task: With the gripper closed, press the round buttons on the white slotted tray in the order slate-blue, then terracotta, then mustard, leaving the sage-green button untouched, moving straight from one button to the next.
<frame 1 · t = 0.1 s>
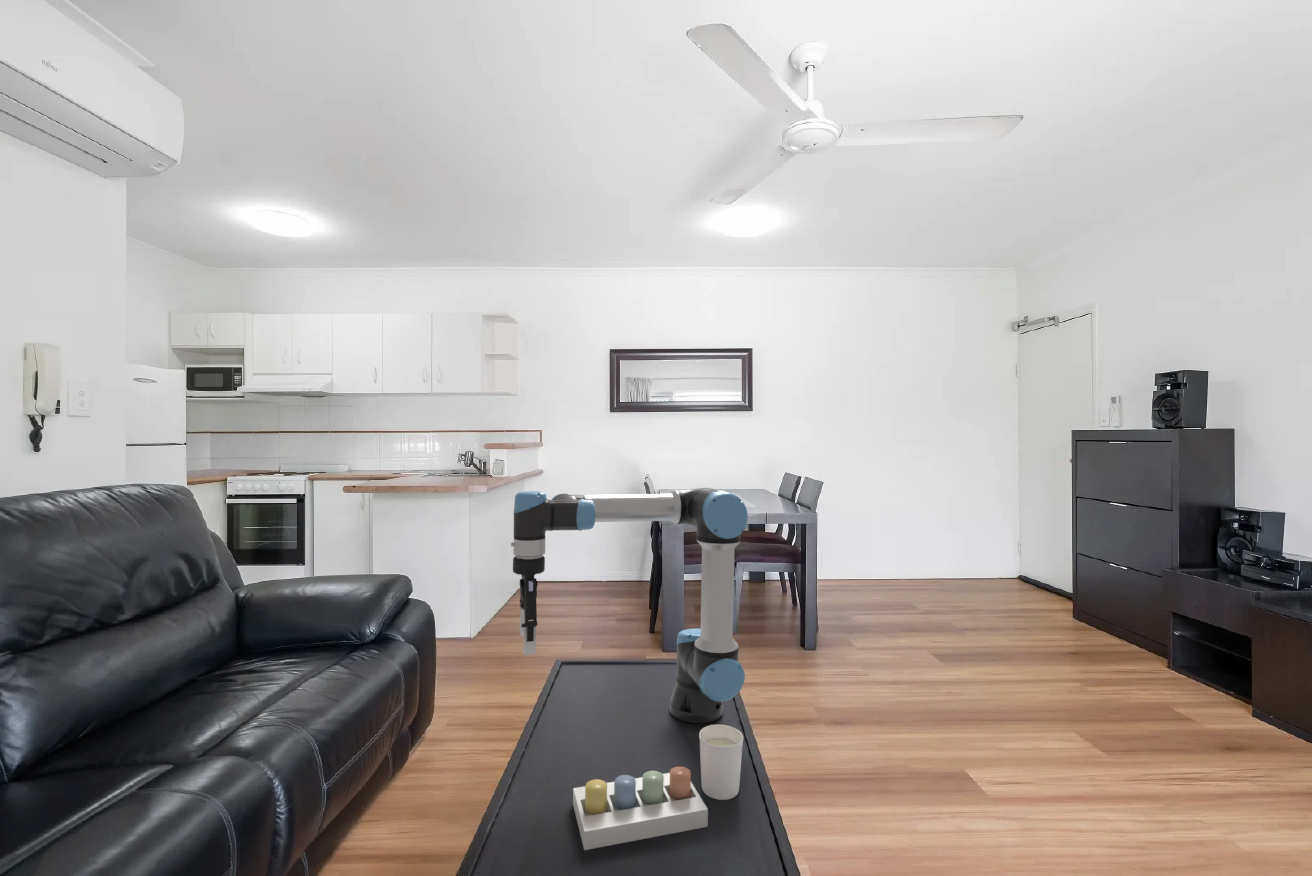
hand: (527, 644, 137), 28 cm above the table, fingers open, 13 cm apart
white slotted tray: (638, 815, 118), on the table
sage button: (652, 787, 119), point 5 cm above the table, slide at 0.0 cm
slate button: (624, 792, 117), point 5 cm above the table, slide at 0.0 cm
candle holder: (720, 789, 127), on the table
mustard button: (596, 796, 115), point 5 cm above the table, slide at 0.0 cm
terracotta button: (680, 783, 120), point 5 cm above the table, slide at 0.0 cm
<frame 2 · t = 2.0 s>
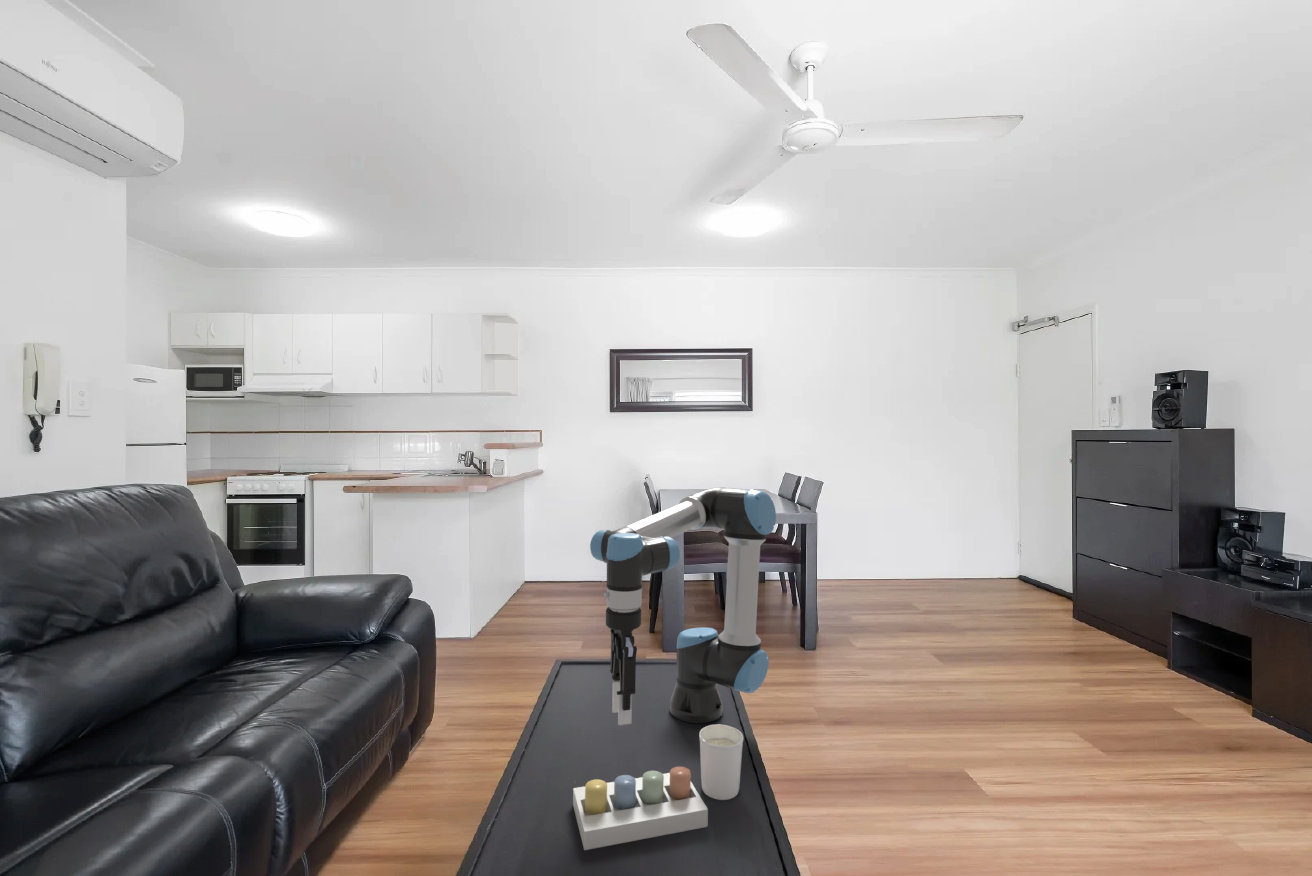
hand: (621, 717, 121), 19 cm above the table, fingers open, 5 cm apart
nothing on the table moved.
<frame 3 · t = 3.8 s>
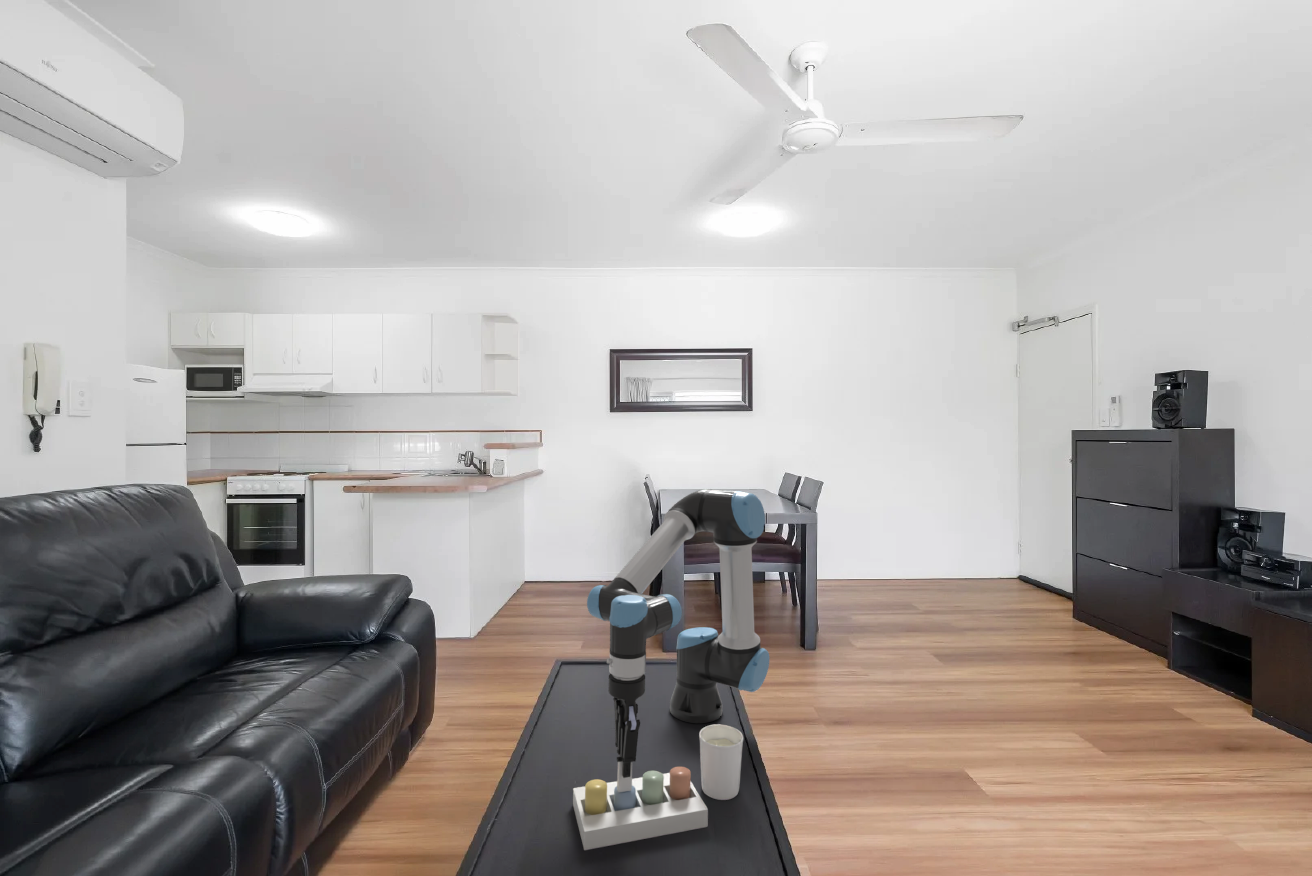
hand: (624, 789, 117), 6 cm above the table, fingers closed
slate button: (624, 800, 117), point 3 cm above the table, slide at 1.8 cm, touching gripper
everything else where it was.
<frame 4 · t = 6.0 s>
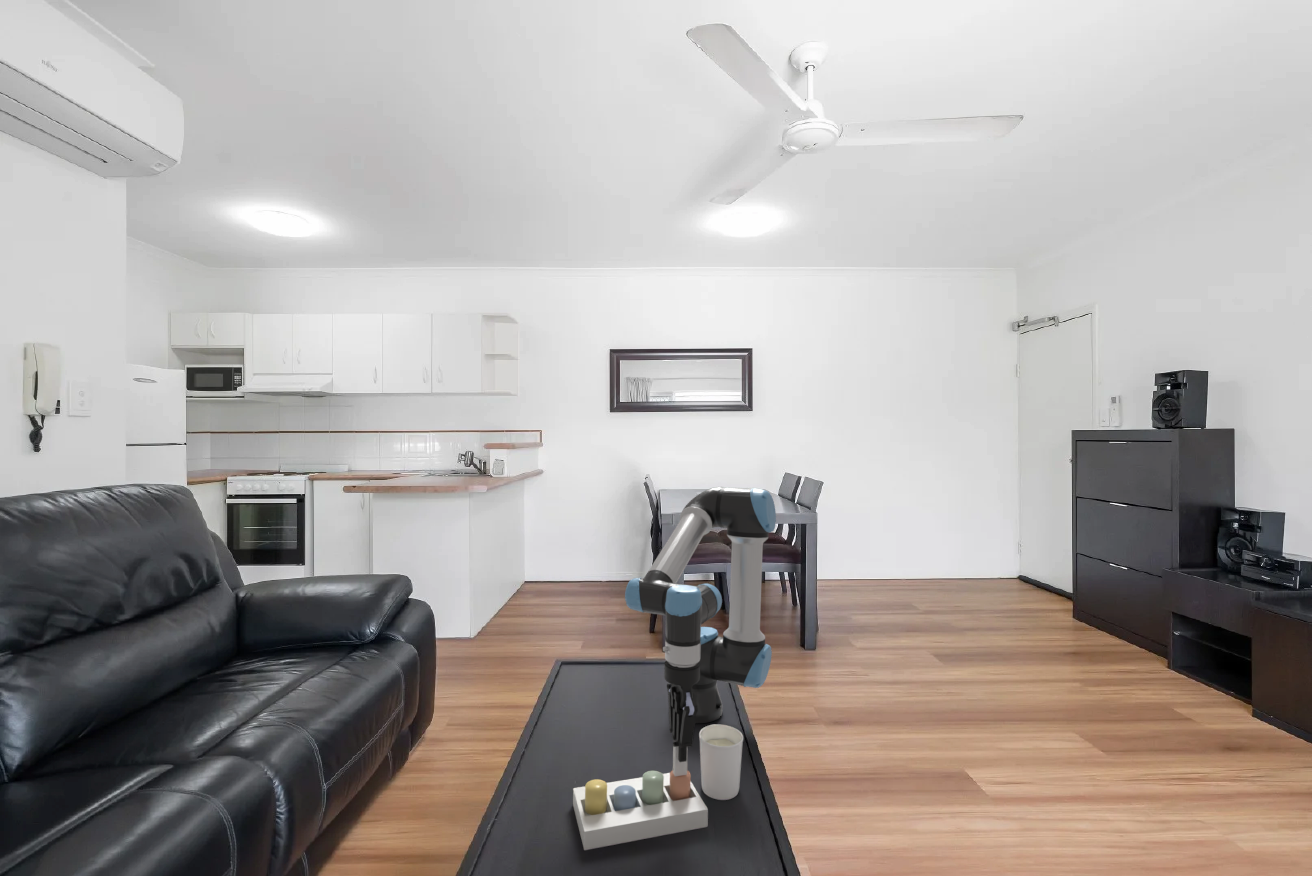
hand: (679, 773, 120), 7 cm above the table, fingers closed
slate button: (624, 802, 117), point 3 cm above the table, slide at 2.1 cm
terracotta button: (680, 784, 120), point 5 cm above the table, slide at 0.4 cm, touching gripper
everything else where it was.
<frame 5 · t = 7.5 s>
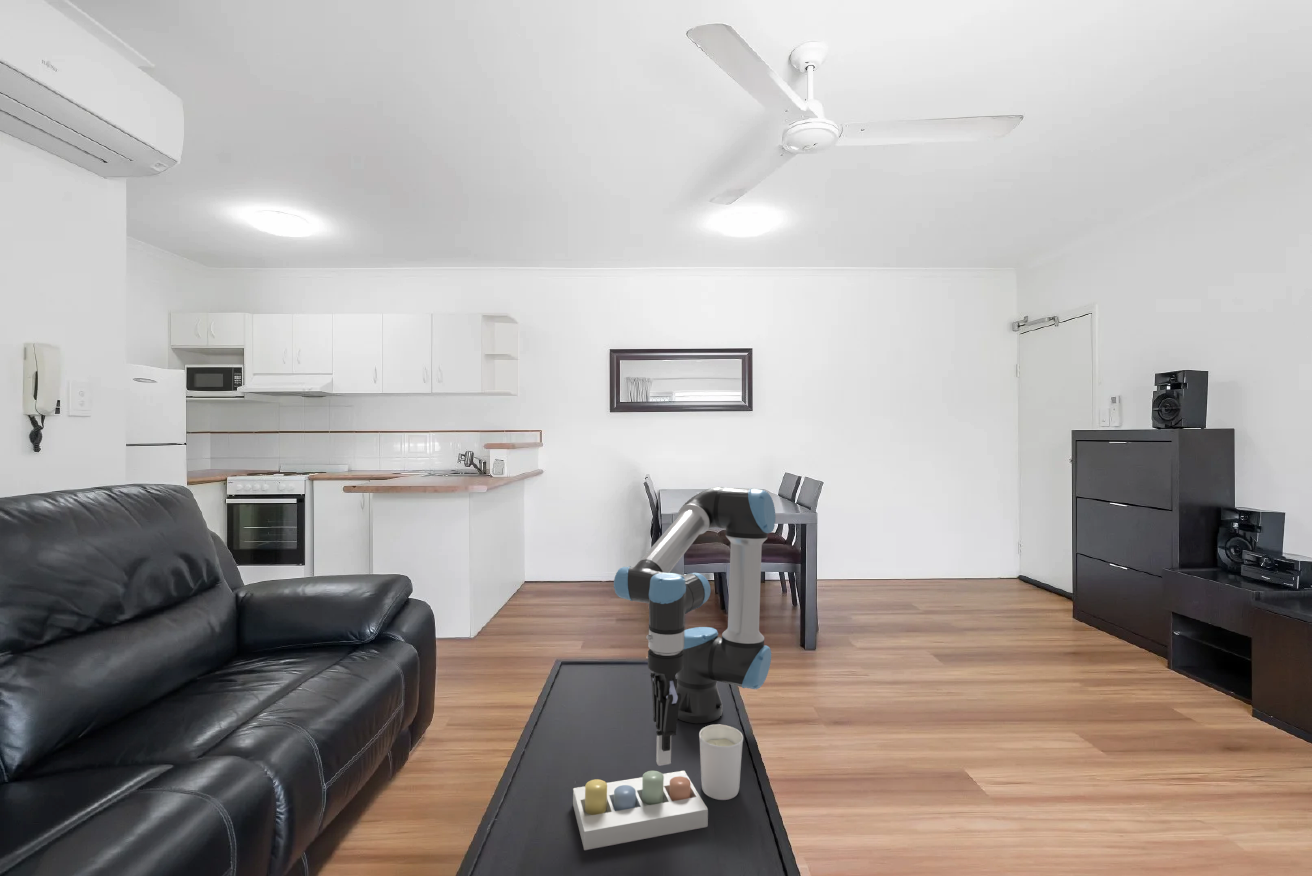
hand: (663, 762, 119), 10 cm above the table, fingers closed
terracotta button: (679, 793, 120), point 3 cm above the table, slide at 2.1 cm
everything else where it was.
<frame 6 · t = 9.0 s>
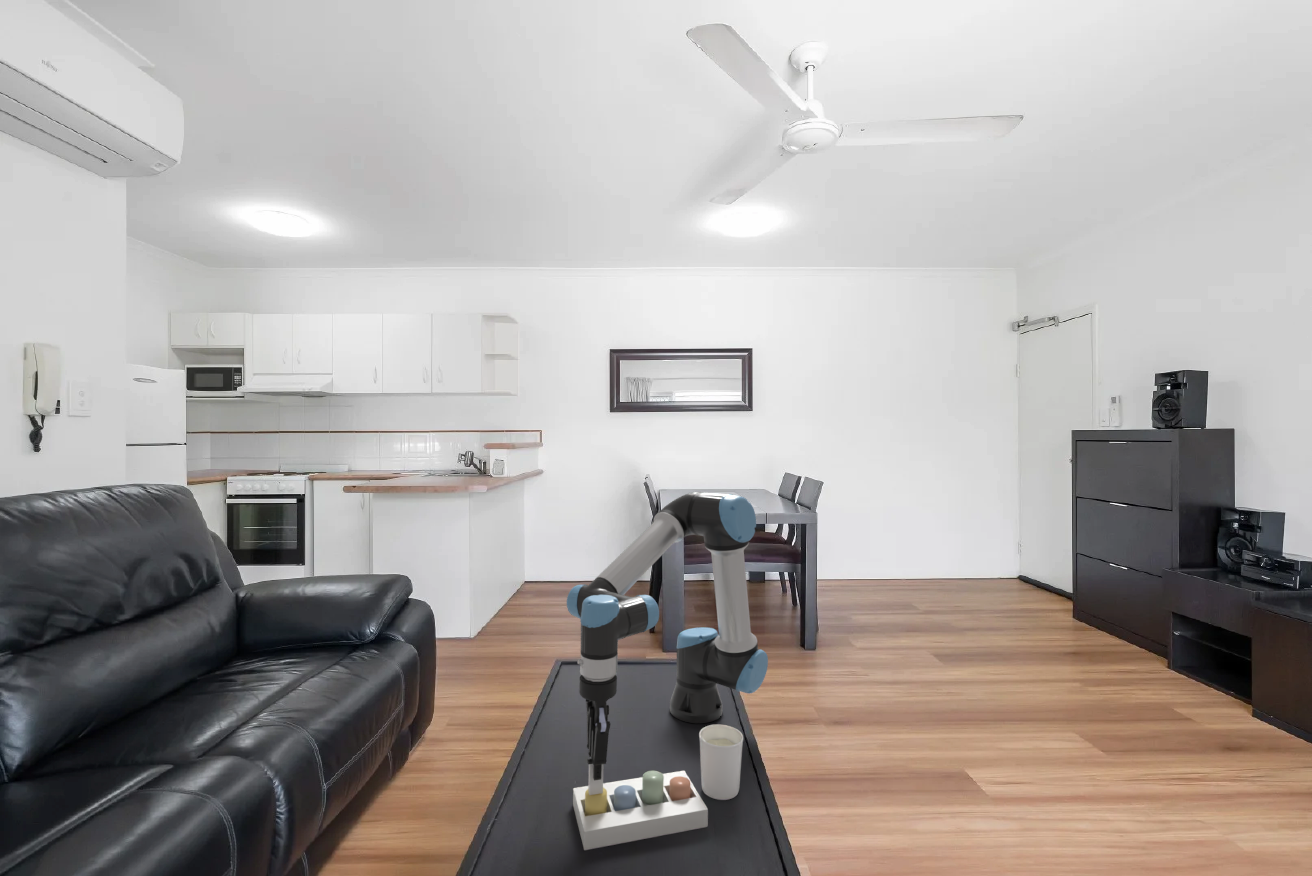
hand: (595, 791, 115), 6 cm above the table, fingers closed
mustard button: (595, 803, 115), point 4 cm above the table, slide at 1.4 cm, touching gripper
everything else where it was.
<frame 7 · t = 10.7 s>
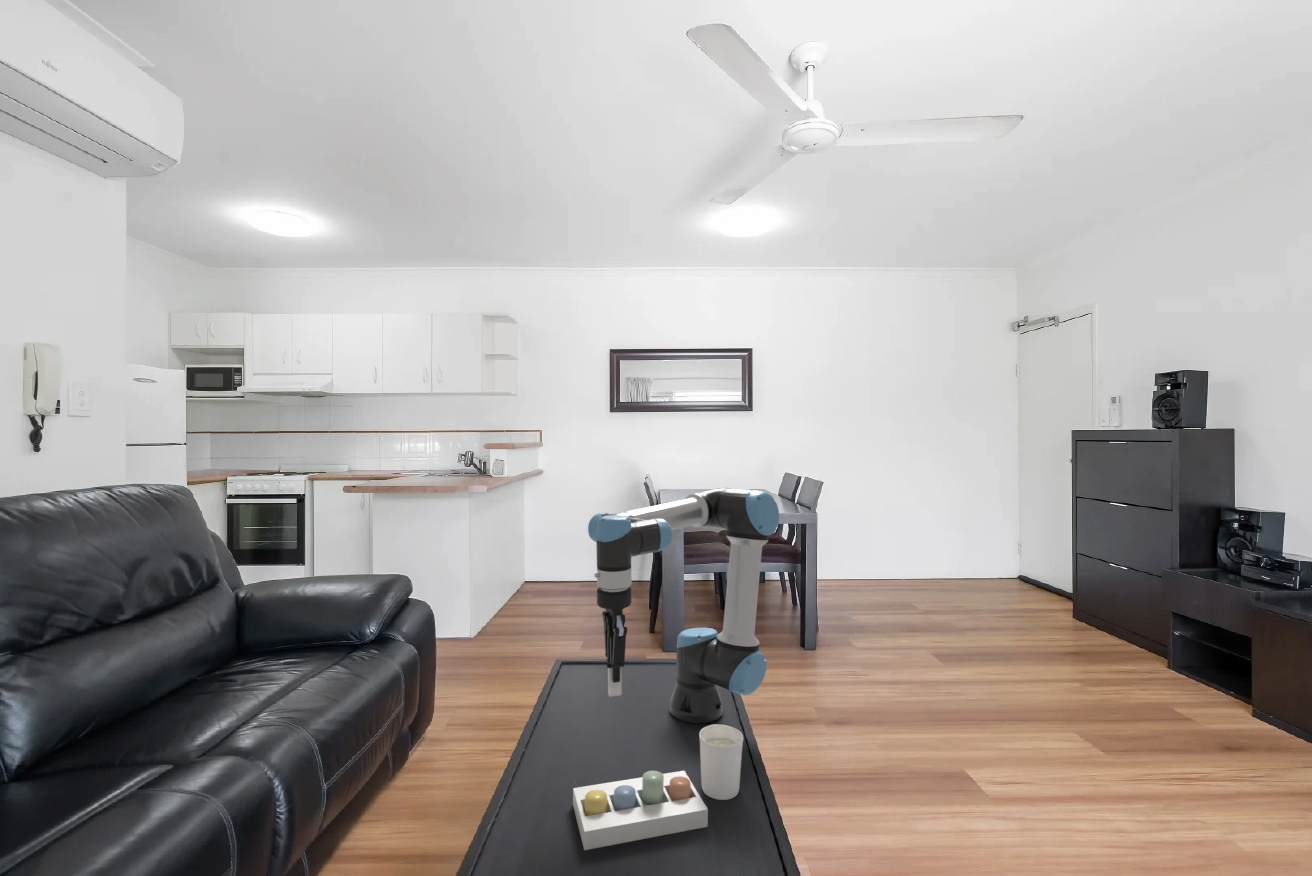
hand: (614, 694, 125), 22 cm above the table, fingers closed
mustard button: (595, 807, 115), point 3 cm above the table, slide at 2.1 cm
everything else where it was.
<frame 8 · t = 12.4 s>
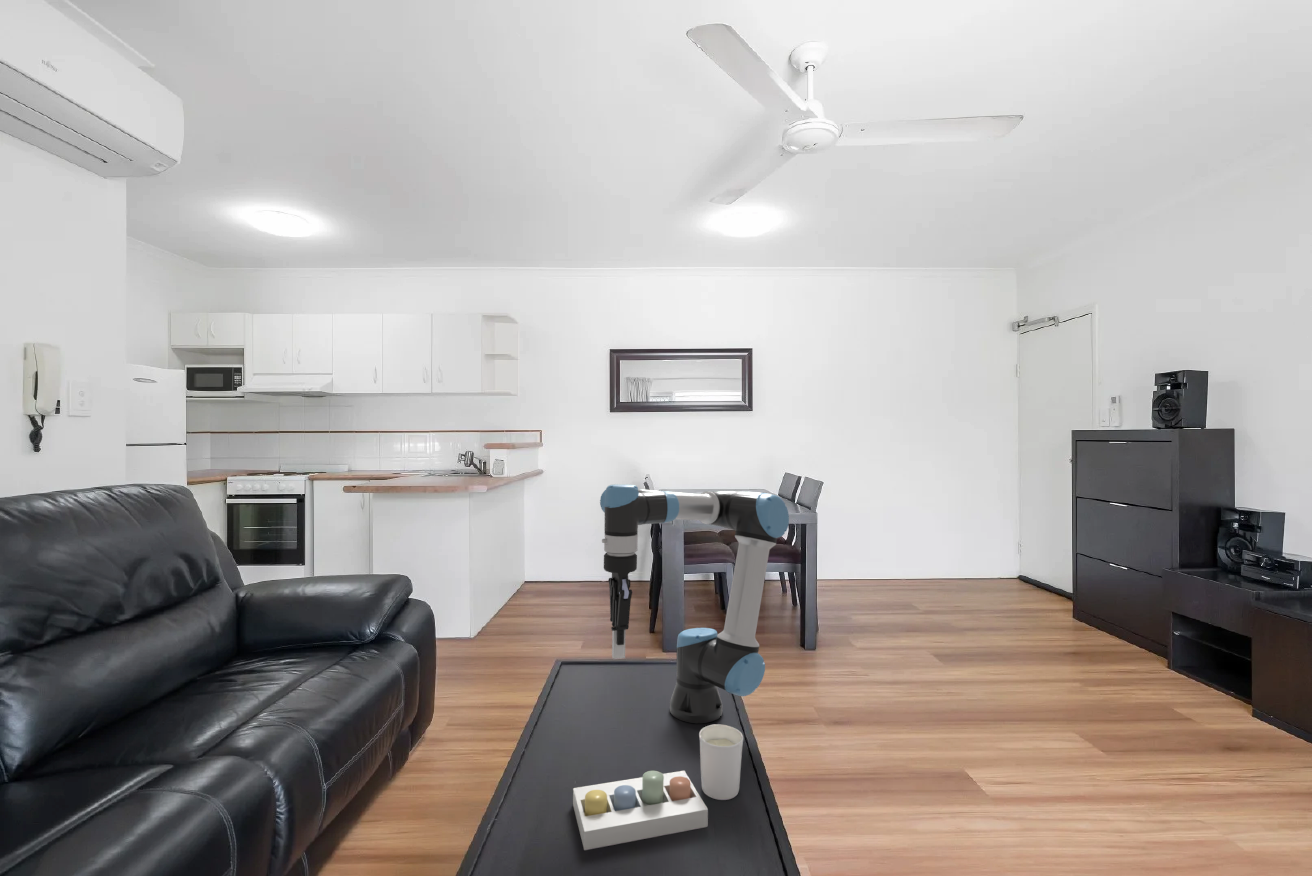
hand: (618, 657, 129), 28 cm above the table, fingers closed
nothing on the table moved.
at the end: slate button slide at 2.1 cm; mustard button slide at 2.1 cm; sage button slide at 0.0 cm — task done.
